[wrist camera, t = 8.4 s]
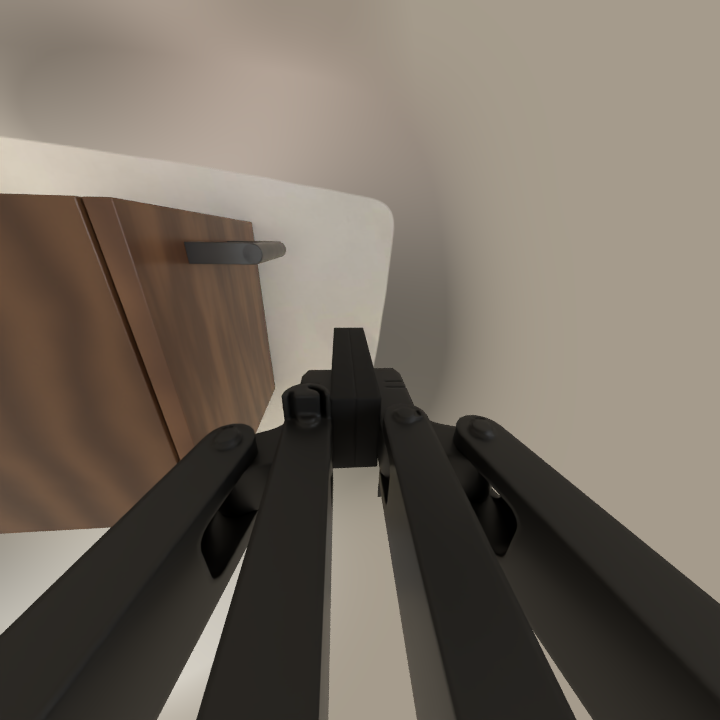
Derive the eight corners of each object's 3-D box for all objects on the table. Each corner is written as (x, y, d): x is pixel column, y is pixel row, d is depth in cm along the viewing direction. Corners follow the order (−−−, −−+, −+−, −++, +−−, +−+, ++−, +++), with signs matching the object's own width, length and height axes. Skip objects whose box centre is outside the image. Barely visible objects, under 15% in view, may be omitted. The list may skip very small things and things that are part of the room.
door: (294, 223, 36) (225, 200, 14) (307, 387, 47) (280, 516, 25) (240, 222, 35) (80, 196, 13) (266, 388, 46) (202, 520, 25)
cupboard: (239, 222, 35) (74, 195, 13) (265, 388, 47) (199, 522, 25) (97, 218, 34) (-345, 182, 12) (159, 390, 45) (-11, 534, 23)
